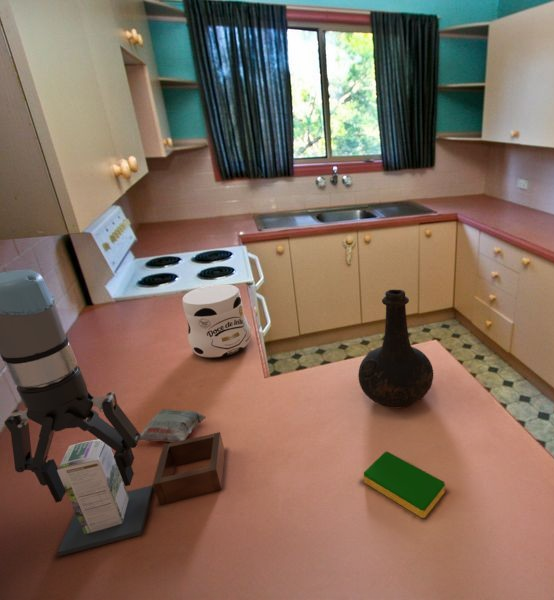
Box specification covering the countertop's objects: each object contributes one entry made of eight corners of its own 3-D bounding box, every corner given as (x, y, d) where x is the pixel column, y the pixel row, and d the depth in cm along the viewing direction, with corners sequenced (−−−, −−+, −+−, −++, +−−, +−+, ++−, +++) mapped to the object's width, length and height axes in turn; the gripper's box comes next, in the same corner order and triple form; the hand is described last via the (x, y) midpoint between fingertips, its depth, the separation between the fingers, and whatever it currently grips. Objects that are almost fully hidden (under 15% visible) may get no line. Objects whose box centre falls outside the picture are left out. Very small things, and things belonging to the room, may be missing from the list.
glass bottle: (349, 388, 109) (340, 286, 97) (411, 368, 116) (409, 272, 105) (379, 429, 94) (372, 315, 83) (447, 404, 101) (449, 297, 90)
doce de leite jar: (235, 365, 120) (222, 307, 113) (179, 361, 123) (164, 305, 115) (262, 336, 136) (253, 283, 128) (213, 333, 138) (201, 281, 131)
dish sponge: (423, 519, 73) (423, 509, 72) (363, 482, 81) (362, 472, 80) (445, 492, 78) (445, 482, 77) (386, 459, 86) (386, 450, 85)
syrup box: (93, 508, 76) (65, 445, 70) (131, 498, 78) (107, 435, 72) (84, 535, 71) (53, 470, 65) (124, 524, 73) (98, 459, 67)
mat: (59, 556, 69) (56, 552, 68) (81, 506, 77) (79, 502, 77) (142, 534, 72) (140, 530, 71) (154, 489, 81) (152, 485, 80)
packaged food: (186, 451, 89) (180, 432, 87) (135, 447, 91) (128, 428, 89) (208, 424, 97) (204, 406, 95) (161, 420, 99) (155, 403, 97)
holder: (159, 504, 77) (152, 484, 75) (169, 463, 86) (163, 444, 84) (221, 489, 80) (216, 469, 78) (224, 450, 89) (220, 432, 87)
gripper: (137, 349, 69) (171, 455, 78) (-29, 375, 63) (29, 487, 72) (125, 373, 62) (164, 487, 71) (-62, 406, 56) (6, 525, 65)
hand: (96, 487), depth 71 cm, fingers open, 9 cm apart
